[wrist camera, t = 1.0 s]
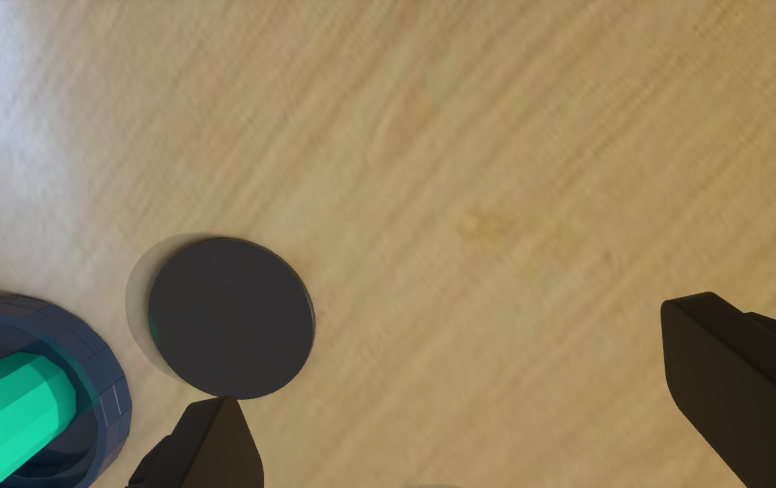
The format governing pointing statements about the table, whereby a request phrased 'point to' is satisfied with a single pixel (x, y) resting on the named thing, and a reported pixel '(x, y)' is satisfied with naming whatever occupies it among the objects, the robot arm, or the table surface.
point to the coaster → (232, 318)
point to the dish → (93, 394)
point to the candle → (31, 407)
